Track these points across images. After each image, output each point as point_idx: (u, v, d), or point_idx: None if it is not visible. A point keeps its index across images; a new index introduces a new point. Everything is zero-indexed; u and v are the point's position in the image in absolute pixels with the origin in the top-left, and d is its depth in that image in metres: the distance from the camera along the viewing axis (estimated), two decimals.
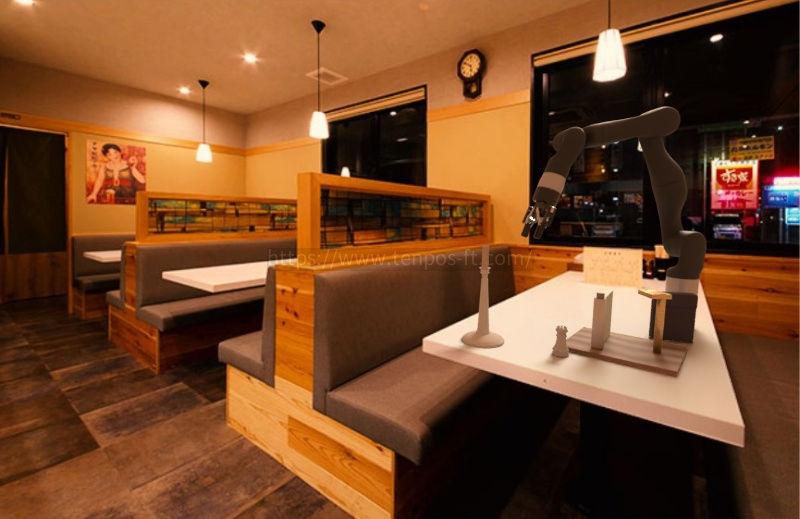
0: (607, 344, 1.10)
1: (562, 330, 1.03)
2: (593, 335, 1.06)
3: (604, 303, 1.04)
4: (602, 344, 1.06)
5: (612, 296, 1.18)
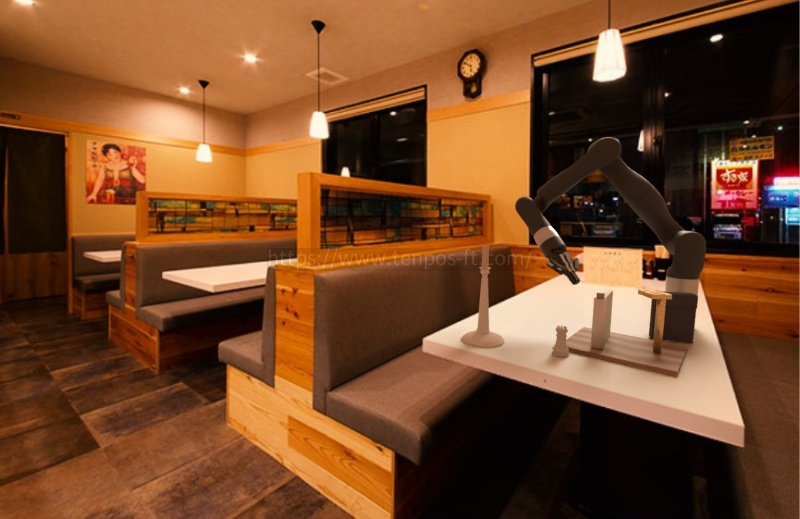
0: (607, 344, 1.10)
1: (562, 330, 1.03)
2: (593, 335, 1.06)
3: (604, 303, 1.04)
4: (602, 344, 1.06)
5: (612, 296, 1.18)
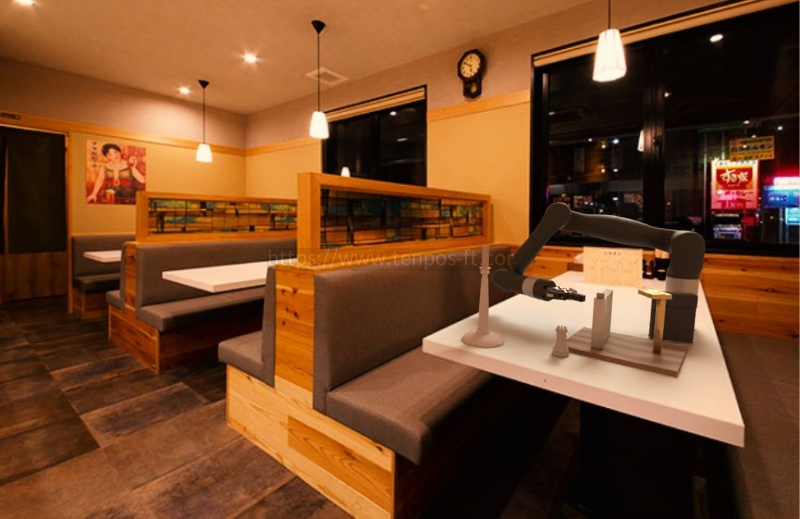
0: (607, 344, 1.10)
1: (562, 330, 1.03)
2: (593, 335, 1.06)
3: (604, 303, 1.04)
4: (602, 344, 1.06)
5: (612, 296, 1.18)
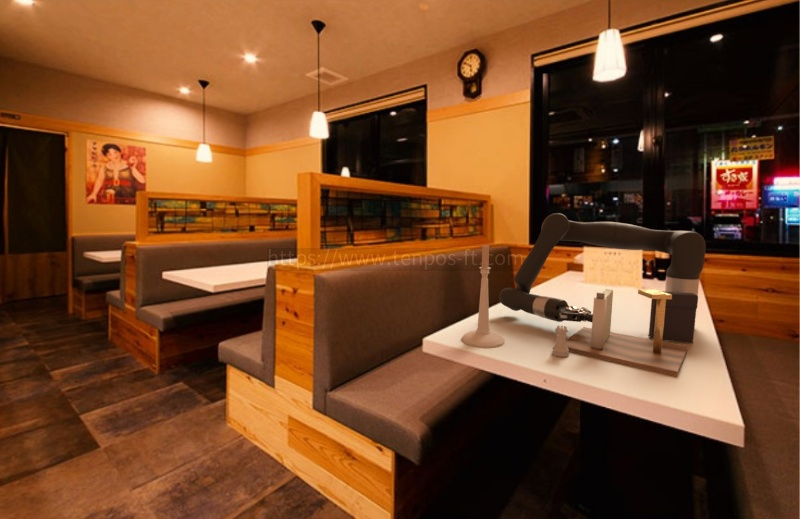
0: (607, 344, 1.10)
1: (562, 330, 1.03)
2: (593, 335, 1.06)
3: (604, 303, 1.04)
4: (602, 344, 1.06)
5: (612, 296, 1.18)
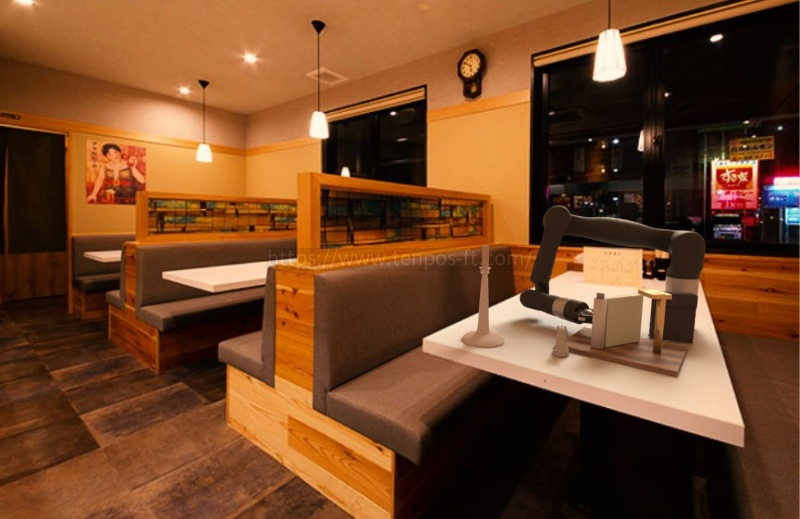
0: None
1: (562, 330, 1.03)
2: None
3: (601, 303, 1.04)
4: (599, 344, 1.06)
5: (642, 301, 1.11)
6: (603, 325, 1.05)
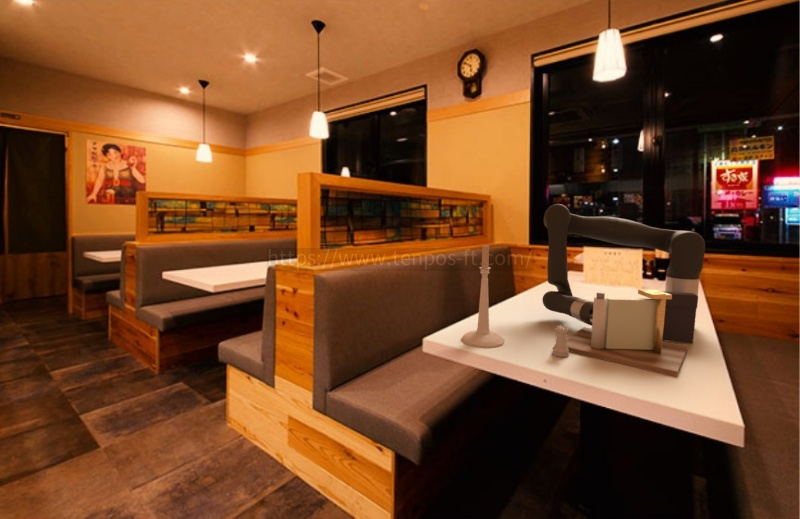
0: None
1: (562, 330, 1.03)
2: None
3: (598, 303, 1.05)
4: (596, 343, 1.06)
5: None
6: (601, 325, 1.05)
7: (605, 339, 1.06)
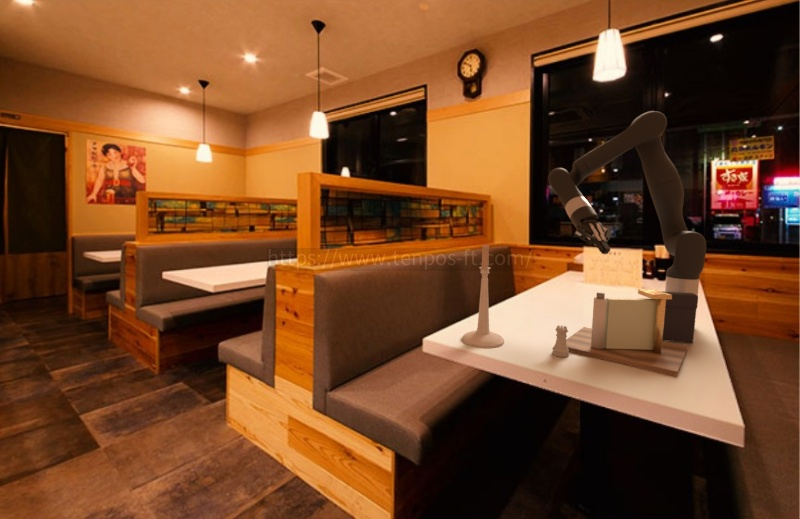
0: None
1: (562, 330, 1.03)
2: None
3: (598, 303, 1.05)
4: (596, 343, 1.06)
5: None
6: (601, 325, 1.05)
7: (605, 339, 1.06)
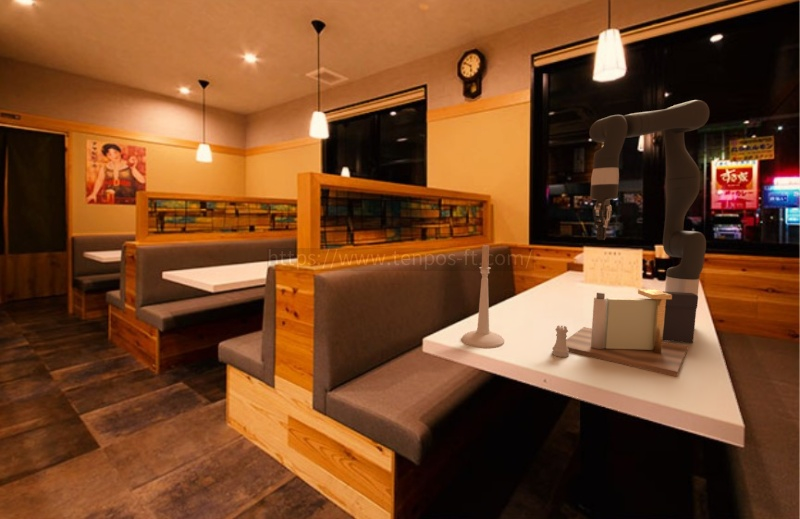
0: None
1: (562, 330, 1.03)
2: None
3: (598, 303, 1.05)
4: (596, 343, 1.06)
5: None
6: (601, 325, 1.05)
7: (605, 339, 1.06)
